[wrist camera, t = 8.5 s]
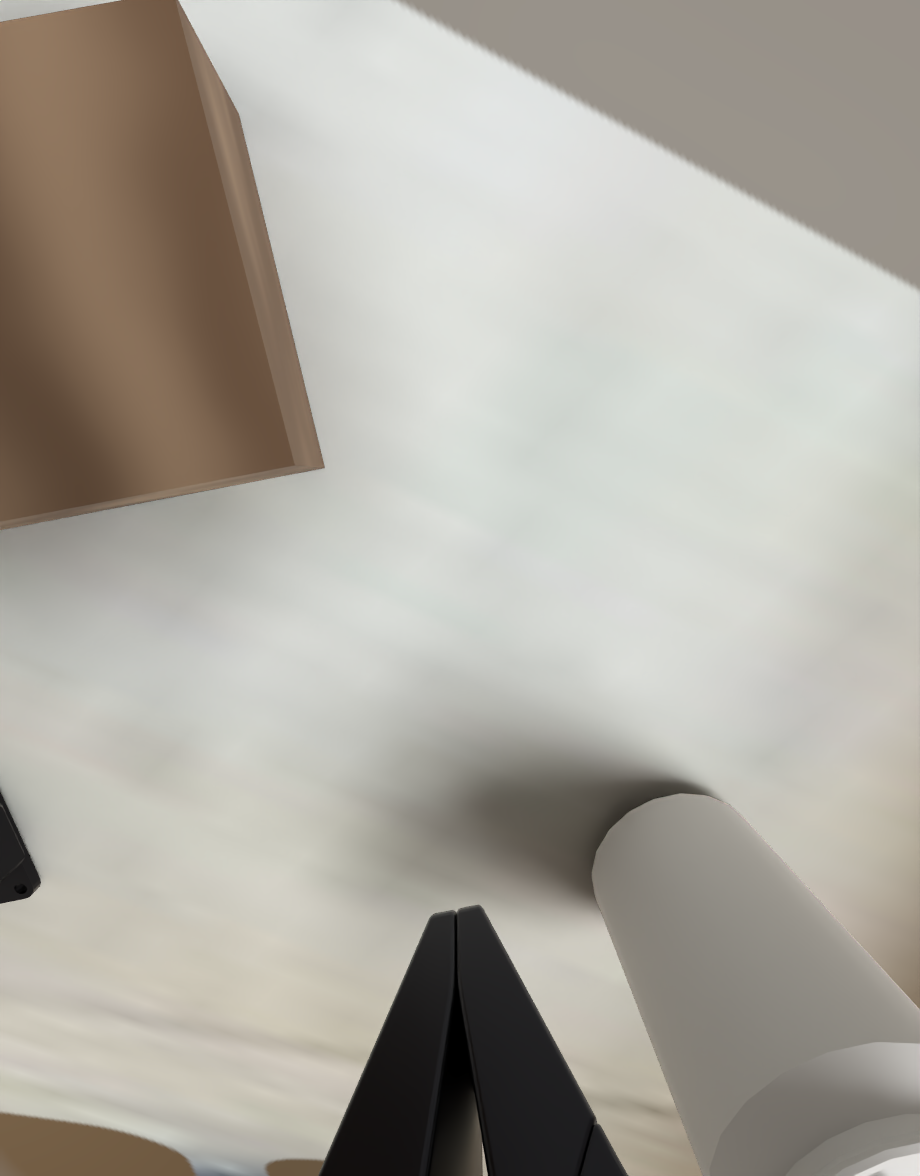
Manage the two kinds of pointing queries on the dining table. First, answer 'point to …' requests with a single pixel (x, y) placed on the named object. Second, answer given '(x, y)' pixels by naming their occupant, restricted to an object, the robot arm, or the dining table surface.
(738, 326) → the dining table surface
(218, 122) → the brown flat block
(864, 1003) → the can
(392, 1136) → the robot arm
